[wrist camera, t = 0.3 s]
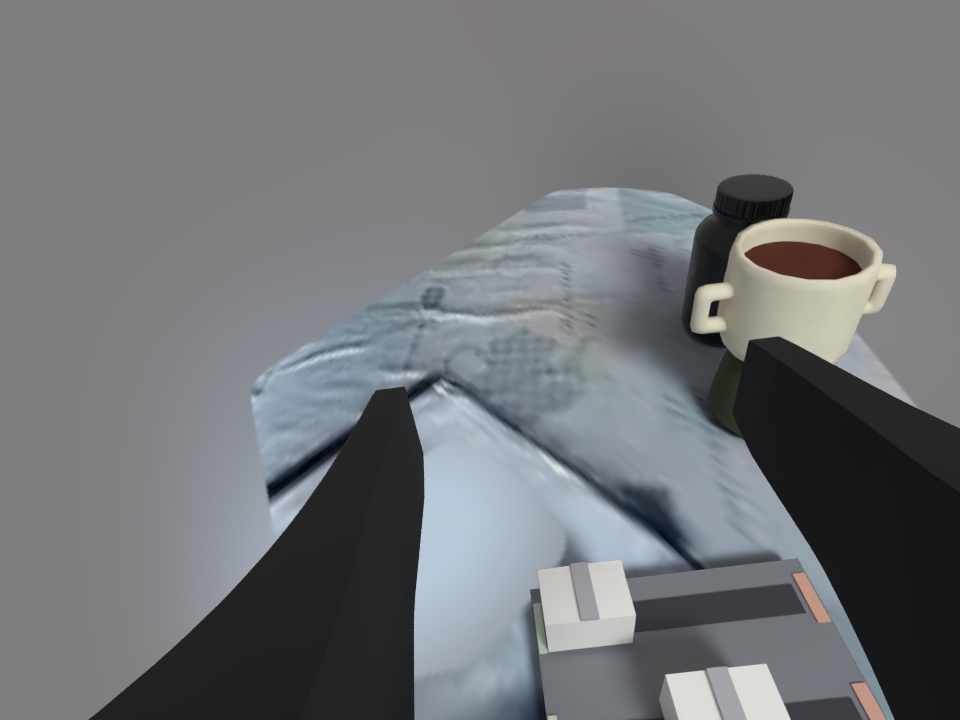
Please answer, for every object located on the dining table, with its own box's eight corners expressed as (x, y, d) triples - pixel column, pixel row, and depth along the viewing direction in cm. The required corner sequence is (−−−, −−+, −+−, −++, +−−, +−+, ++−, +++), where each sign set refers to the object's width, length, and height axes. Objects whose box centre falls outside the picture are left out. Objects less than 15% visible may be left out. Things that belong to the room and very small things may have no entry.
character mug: (810, 371, 38) (871, 205, 30) (866, 445, 33) (961, 268, 25) (660, 387, 39) (679, 230, 31) (691, 463, 34) (725, 296, 25)
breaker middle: (780, 763, 21) (801, 740, 19) (679, 773, 21) (689, 751, 19) (751, 689, 23) (767, 661, 21) (658, 699, 23) (665, 672, 21)
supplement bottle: (739, 363, 40) (775, 218, 32) (664, 327, 44) (679, 193, 37) (786, 322, 43) (830, 180, 35) (711, 292, 47) (735, 160, 40)
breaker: (632, 642, 25) (636, 613, 23) (548, 652, 25) (545, 623, 23) (618, 589, 27) (620, 557, 25) (540, 598, 27) (536, 567, 25)
